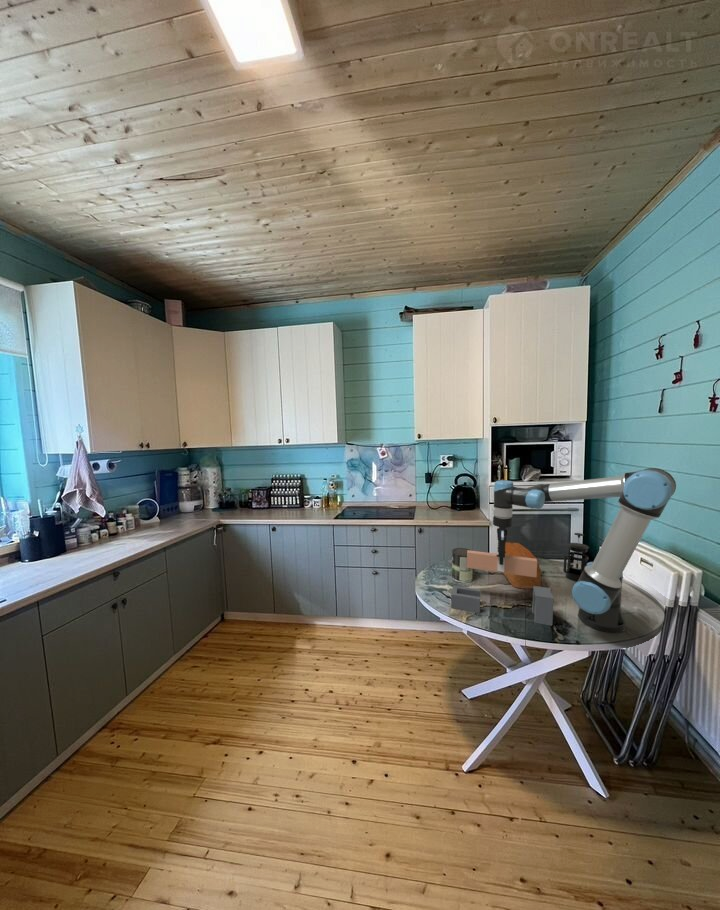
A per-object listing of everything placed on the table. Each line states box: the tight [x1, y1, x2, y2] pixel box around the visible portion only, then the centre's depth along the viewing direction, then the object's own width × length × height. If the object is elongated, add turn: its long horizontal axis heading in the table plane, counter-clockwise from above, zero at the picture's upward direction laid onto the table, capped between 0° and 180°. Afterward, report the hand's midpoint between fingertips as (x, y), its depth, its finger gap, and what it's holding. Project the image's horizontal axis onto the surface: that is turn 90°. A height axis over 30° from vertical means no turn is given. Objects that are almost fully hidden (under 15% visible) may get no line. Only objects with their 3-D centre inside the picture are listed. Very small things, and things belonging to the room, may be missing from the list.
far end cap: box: [450, 585, 481, 614], centre depth 150 cm, size 12×9×6 cm
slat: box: [467, 549, 538, 577], centre depth 153 cm, size 28×3×7 cm, turn 70°
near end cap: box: [531, 586, 555, 627], centre depth 140 cm, size 6×9×11 cm, turn 160°
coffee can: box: [451, 547, 474, 584], centre depth 176 cm, size 10×10×14 cm
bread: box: [502, 541, 542, 590], centre depth 178 cm, size 14×27×15 cm, turn 175°
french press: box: [562, 532, 590, 583], centre depth 177 cm, size 12×9×23 cm
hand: (500, 569), depth 153 cm, fingers closed on slat, 3 cm apart
